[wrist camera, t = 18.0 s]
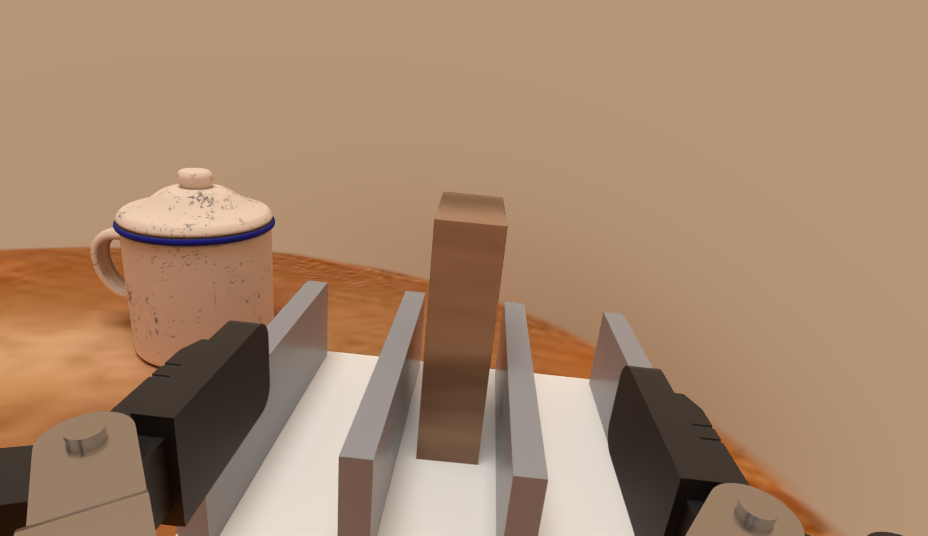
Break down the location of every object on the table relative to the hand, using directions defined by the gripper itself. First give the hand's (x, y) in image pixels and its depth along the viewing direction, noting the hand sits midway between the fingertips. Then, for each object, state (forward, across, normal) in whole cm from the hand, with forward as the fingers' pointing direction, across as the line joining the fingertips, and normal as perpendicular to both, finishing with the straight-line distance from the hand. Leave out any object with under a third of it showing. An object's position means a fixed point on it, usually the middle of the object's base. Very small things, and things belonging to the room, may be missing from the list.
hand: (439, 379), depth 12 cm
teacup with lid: (+21, +18, +13) cm, 31 cm away
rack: (+12, 0, +12) cm, 17 cm away
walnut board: (+13, 0, +11) cm, 17 cm away
